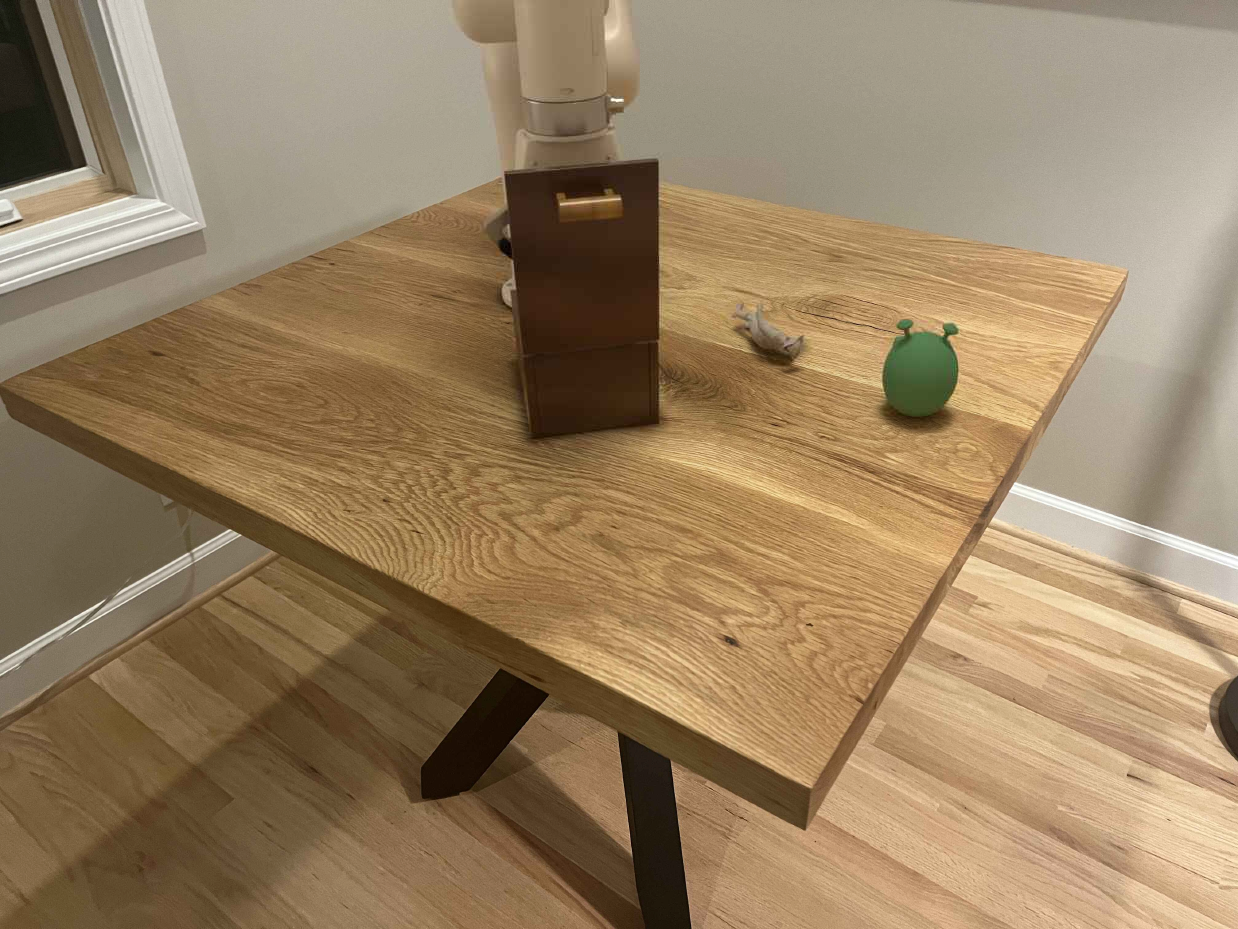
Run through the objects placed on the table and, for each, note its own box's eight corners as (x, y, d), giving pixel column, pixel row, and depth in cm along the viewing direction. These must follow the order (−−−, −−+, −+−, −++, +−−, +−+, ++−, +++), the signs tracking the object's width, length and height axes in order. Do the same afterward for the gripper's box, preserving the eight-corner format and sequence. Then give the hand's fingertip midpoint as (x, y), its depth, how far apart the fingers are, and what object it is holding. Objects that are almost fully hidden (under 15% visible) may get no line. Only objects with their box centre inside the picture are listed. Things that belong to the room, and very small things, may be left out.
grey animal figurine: (773, 328, 108) (837, 337, 98) (753, 363, 108) (814, 375, 98) (729, 292, 105) (791, 297, 94) (708, 327, 104) (767, 336, 94)
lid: (503, 170, 74) (508, 191, 69) (656, 157, 75) (670, 176, 71) (522, 351, 83) (527, 378, 79) (657, 336, 85) (669, 362, 81)
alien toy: (946, 393, 93) (964, 304, 87) (953, 433, 87) (973, 340, 81) (875, 388, 94) (889, 299, 88) (877, 427, 88) (892, 335, 82)
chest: (518, 363, 101) (510, 289, 96) (630, 351, 103) (628, 277, 98) (531, 438, 88) (523, 357, 83) (659, 422, 90) (658, 342, 85)
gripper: (652, 98, 85) (654, 273, 95) (466, 112, 82) (488, 290, 92) (670, 117, 79) (670, 302, 88) (469, 133, 76) (492, 321, 86)
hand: (577, 295), depth 90 cm, fingers closed on building block, 8 cm apart
